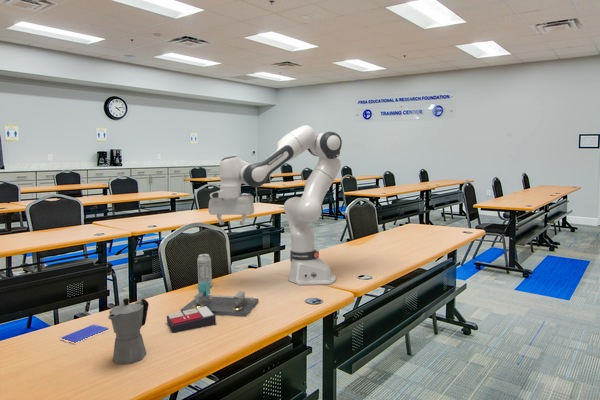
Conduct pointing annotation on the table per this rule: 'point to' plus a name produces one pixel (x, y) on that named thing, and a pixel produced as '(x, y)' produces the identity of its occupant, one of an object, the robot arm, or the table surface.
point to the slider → (202, 290)
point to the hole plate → (225, 304)
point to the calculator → (191, 319)
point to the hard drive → (84, 333)
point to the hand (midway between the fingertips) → (232, 224)
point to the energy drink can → (204, 268)
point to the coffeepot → (129, 331)
